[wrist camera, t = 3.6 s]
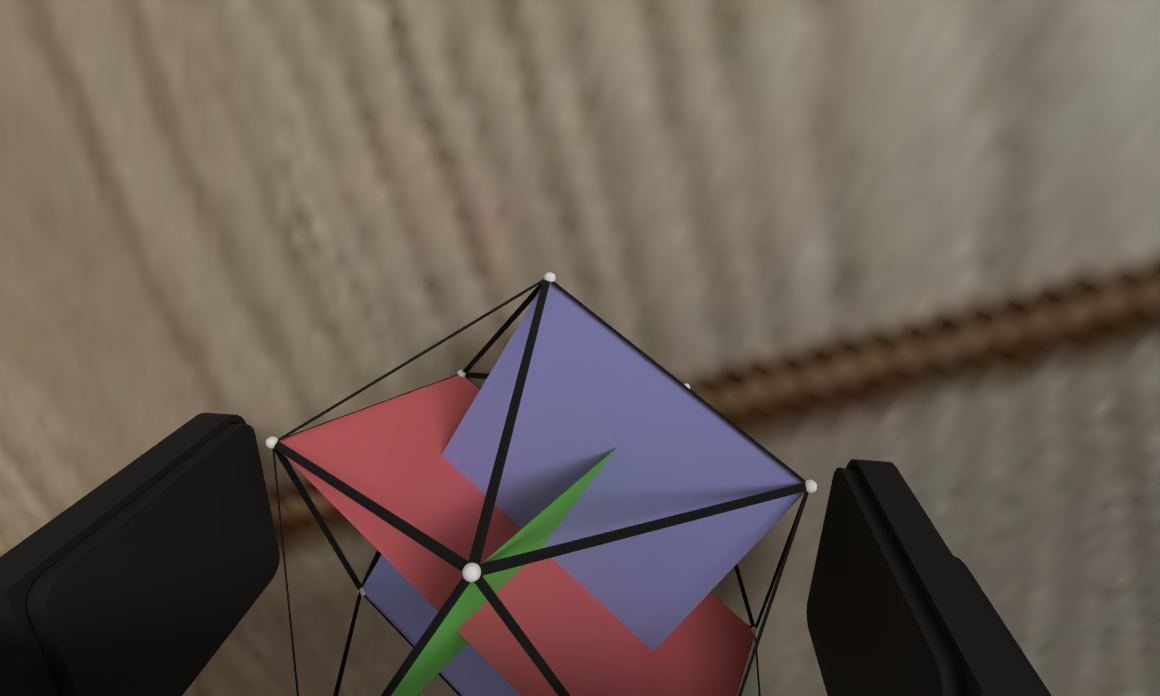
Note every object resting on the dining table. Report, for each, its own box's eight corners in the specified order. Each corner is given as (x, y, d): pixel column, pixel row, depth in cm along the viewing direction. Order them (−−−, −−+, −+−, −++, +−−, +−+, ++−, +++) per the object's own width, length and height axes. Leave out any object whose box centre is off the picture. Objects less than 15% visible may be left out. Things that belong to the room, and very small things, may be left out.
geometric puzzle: (192, 491, 11) (202, 1184, 6) (331, 131, 8) (608, 809, 3) (528, 499, 15) (710, 886, 10) (688, 269, 13) (1051, 631, 7)
